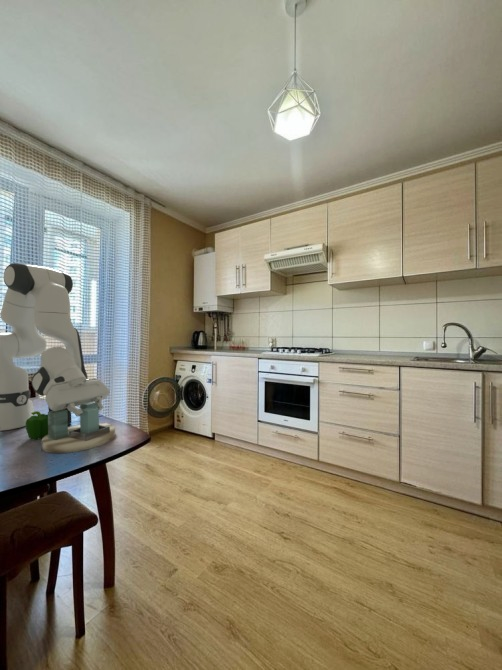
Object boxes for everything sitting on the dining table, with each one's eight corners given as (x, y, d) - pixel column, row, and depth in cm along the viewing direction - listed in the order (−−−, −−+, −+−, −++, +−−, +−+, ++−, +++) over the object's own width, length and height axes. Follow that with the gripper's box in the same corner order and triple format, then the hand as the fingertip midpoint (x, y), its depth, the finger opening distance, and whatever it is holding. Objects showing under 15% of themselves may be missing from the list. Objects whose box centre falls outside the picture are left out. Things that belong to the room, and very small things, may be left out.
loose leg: (80, 436, 95) (80, 409, 95) (91, 432, 99) (90, 407, 99) (88, 437, 94) (87, 411, 94) (99, 433, 97) (98, 408, 97)
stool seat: (35, 441, 98) (34, 408, 98) (102, 425, 114) (101, 397, 114) (50, 459, 83) (49, 421, 83) (125, 438, 99) (124, 406, 99)
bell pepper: (50, 431, 107) (49, 406, 107) (57, 436, 102) (56, 409, 102) (22, 438, 101) (22, 411, 101) (28, 443, 96) (28, 415, 96)
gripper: (94, 383, 110) (112, 410, 106) (37, 393, 92) (56, 426, 88) (102, 372, 108) (120, 399, 104) (45, 380, 90) (65, 414, 86)
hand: (90, 411), depth 96 cm, fingers open, 6 cm apart
